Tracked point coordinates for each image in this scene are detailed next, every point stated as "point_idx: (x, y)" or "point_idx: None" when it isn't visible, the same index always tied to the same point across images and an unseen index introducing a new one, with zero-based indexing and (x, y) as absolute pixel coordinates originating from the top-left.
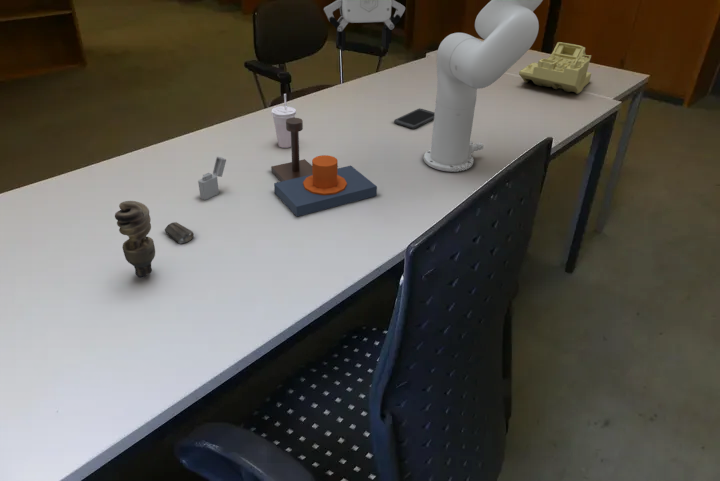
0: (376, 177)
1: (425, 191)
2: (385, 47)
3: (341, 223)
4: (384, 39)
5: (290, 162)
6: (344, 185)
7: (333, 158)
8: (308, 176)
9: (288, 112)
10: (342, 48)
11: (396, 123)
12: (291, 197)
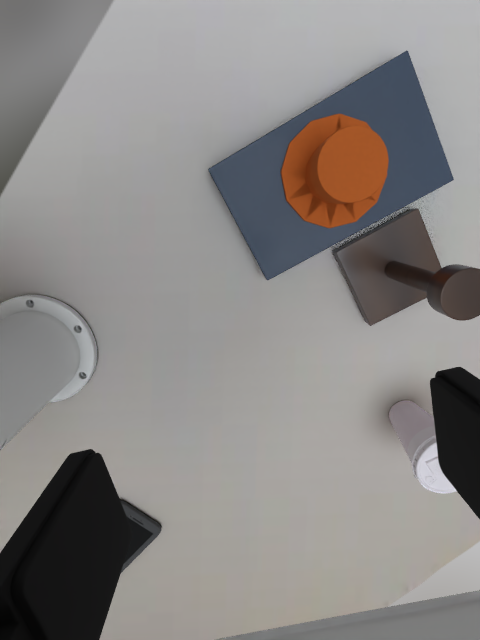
0: (207, 265)
1: (96, 198)
2: (96, 455)
3: (294, 30)
4: (88, 529)
5: (403, 307)
6: (287, 159)
7: (327, 181)
8: (370, 217)
9: (437, 454)
10: (465, 372)
11: (156, 522)
12: (417, 100)
